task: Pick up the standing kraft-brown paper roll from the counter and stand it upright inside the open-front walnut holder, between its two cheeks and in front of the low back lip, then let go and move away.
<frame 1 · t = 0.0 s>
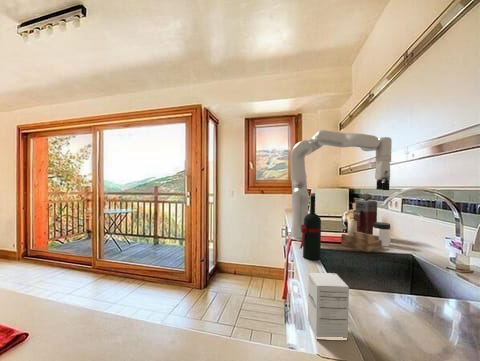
hand: (382, 189, 130), 31 cm above the countertop, tool pointing down, fingers open, 9 cm apart
jar: (381, 244, 131), on the countertop
supplement box: (326, 331, 55), on the countertop
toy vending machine: (364, 237, 148), on the countertop
wine bottle: (309, 258, 107), on the countertop
roll: (352, 238, 143), on the countertop
holder: (358, 245, 128), on the countertop
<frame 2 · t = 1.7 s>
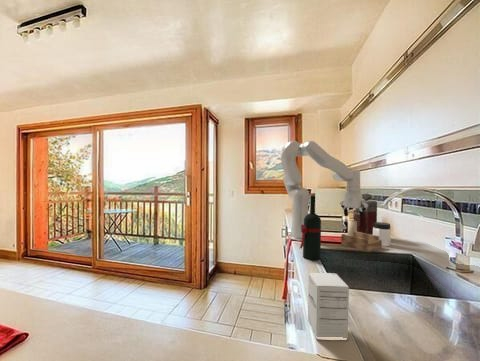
hand: (353, 216, 143), 14 cm above the countertop, tool pointing down, fingers open, 9 cm apart
nothing on the countertop moved.
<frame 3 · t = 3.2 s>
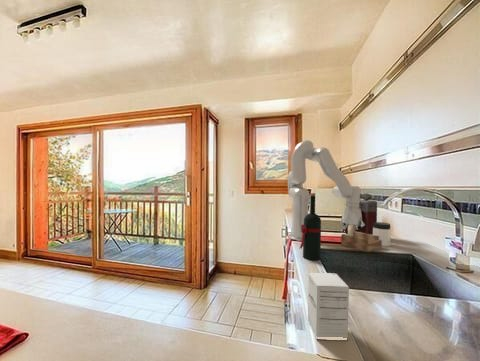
hand: (352, 234, 143), 2 cm above the countertop, tool pointing down, fingers closed on roll, 5 cm apart
roll: (352, 238, 143), on the countertop, touching gripper
everything else where it was.
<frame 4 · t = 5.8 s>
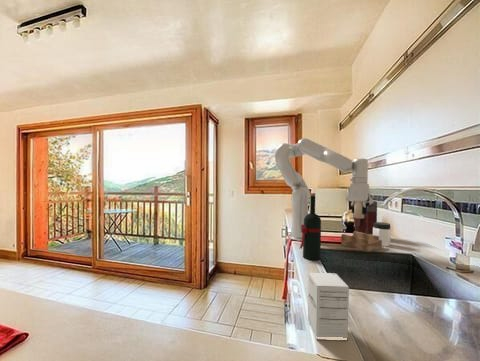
hand: (359, 213, 128), 18 cm above the countertop, tool pointing down, fingers closed on roll, 5 cm apart
roll: (359, 217, 128), point 16 cm above the countertop, touching gripper
everything else where it was.
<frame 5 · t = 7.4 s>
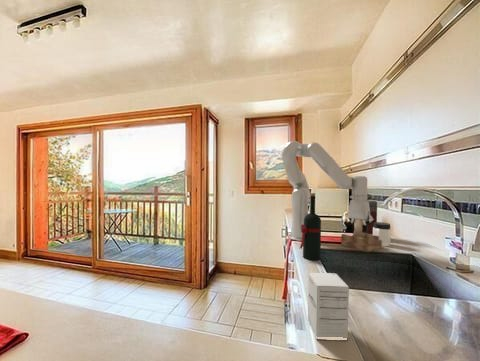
hand: (359, 230, 128), 8 cm above the countertop, tool pointing down, fingers closed on roll, 5 cm apart
roll: (359, 235, 128), point 6 cm above the countertop, touching gripper
everything else where it was.
when the fingers open (4 cm above the countertop, at t = 8.7 s): roll drops 1 cm, resting in holder.
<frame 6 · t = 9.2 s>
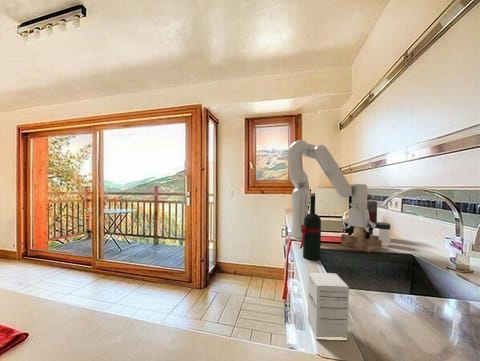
hand: (358, 237, 128), 5 cm above the countertop, tool pointing down, fingers open, 9 cm apart
roll: (358, 245, 128), resting in holder
everything else where it was.
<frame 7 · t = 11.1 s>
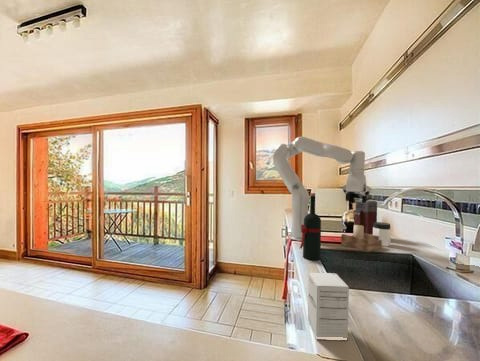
hand: (355, 201, 134), 24 cm above the countertop, tool pointing down, fingers open, 9 cm apart
nothing on the countertop moved.
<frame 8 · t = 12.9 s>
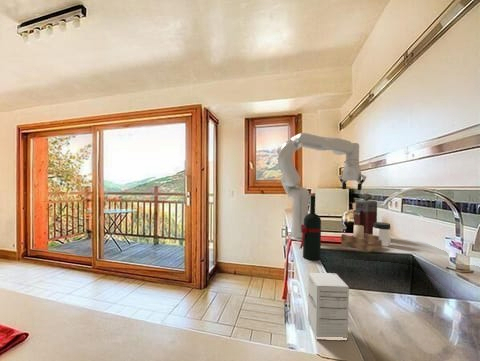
hand: (351, 189, 146), 30 cm above the countertop, tool pointing down, fingers open, 9 cm apart
nothing on the countertop moved.
at the end: roll inside the target area on the holder (0.8 cm from its centre), point 0.0 cm above the holder's base; roll tilted 1°; the gripper is holding nothing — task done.
